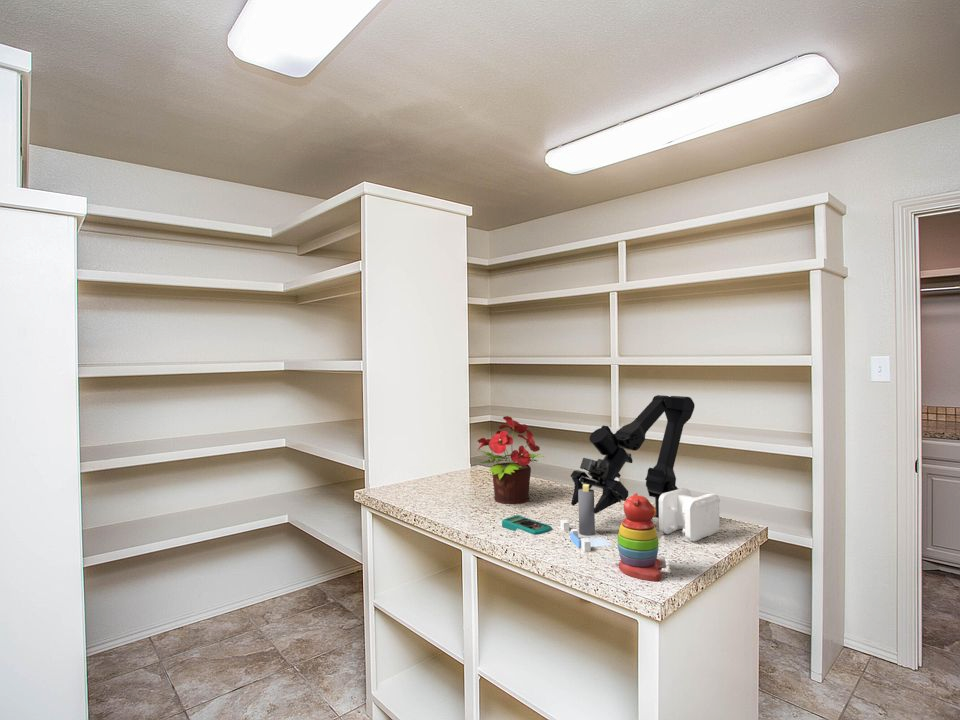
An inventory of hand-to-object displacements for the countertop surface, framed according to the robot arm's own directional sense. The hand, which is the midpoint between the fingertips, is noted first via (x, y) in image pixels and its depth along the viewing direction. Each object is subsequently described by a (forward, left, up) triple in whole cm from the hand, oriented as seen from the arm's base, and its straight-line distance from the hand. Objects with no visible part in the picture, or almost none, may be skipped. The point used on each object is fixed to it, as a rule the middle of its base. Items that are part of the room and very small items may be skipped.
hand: (583, 508), depth 147 cm
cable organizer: (-11, +29, -8) cm, 32 cm away
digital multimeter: (-3, -17, -9) cm, 19 cm away
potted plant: (-36, -31, -8) cm, 48 cm away
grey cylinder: (-1, +1, -7) cm, 7 cm away
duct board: (+2, +3, -8) cm, 9 cm away
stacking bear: (+19, +15, -8) cm, 26 cm away
